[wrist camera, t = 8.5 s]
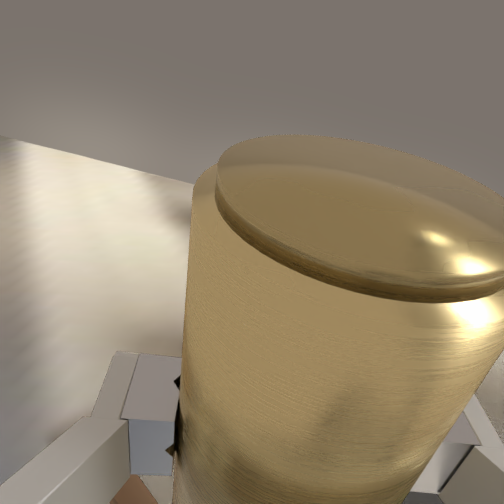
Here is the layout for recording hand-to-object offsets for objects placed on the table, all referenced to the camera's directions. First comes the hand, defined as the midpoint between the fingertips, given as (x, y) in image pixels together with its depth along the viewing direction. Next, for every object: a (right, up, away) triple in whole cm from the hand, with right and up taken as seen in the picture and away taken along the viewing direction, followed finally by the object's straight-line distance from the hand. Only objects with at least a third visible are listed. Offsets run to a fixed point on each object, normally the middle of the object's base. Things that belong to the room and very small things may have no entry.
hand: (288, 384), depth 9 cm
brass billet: (-1, -6, +2) cm, 6 cm away
